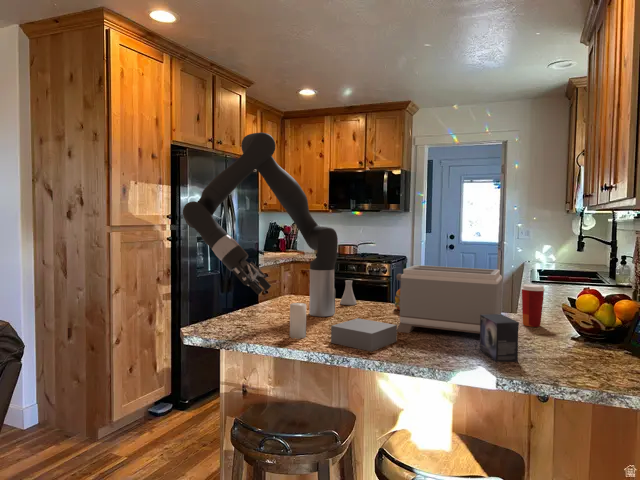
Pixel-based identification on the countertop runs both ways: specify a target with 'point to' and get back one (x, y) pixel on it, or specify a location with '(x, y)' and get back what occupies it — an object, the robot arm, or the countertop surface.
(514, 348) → the small box
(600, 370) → the countertop surface
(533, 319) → the paper cup
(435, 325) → the toaster
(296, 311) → the beige piece
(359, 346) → the plinth
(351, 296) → the flask
